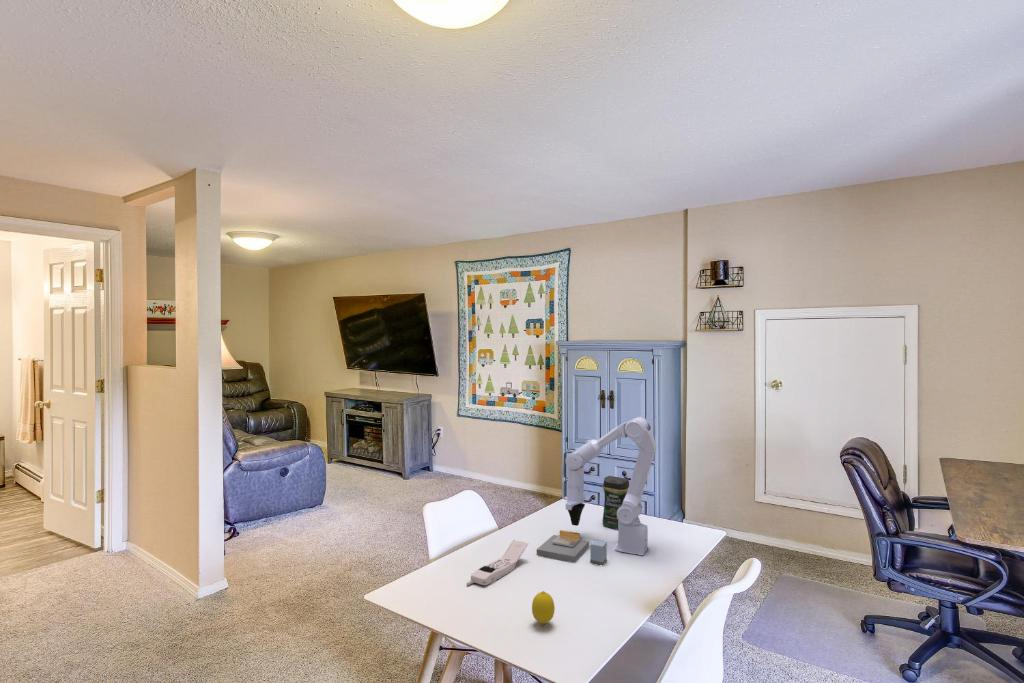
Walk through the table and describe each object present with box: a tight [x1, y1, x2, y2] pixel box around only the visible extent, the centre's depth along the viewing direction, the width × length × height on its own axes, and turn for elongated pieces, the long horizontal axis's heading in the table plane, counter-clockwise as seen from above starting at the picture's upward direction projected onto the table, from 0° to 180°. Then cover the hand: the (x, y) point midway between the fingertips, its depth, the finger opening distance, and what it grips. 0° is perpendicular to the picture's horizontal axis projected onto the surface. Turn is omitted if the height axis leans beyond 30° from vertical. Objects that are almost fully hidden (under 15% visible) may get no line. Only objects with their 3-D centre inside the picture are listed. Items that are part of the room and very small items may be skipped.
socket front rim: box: [552, 534, 590, 548], centre depth 182 cm, size 13×2×2 cm, turn 64°
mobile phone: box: [466, 539, 529, 587], centre depth 159 cm, size 6×6×25 cm
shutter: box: [552, 529, 582, 547], centre depth 178 cm, size 8×8×2 cm
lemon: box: [531, 590, 555, 626], centre depth 130 cm, size 6×6×8 cm
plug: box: [589, 539, 608, 567], centre depth 167 cm, size 4×4×6 cm
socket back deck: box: [536, 541, 583, 564], centre depth 172 cm, size 13×7×2 cm, turn 64°
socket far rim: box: [545, 535, 556, 543], centre depth 180 cm, size 4×6×2 cm, turn 154°
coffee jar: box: [602, 475, 630, 530], centre depth 200 cm, size 10×8×19 cm
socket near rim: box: [574, 541, 589, 555], centre depth 176 cm, size 4×6×2 cm, turn 154°
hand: (575, 524), depth 186 cm, fingers closed
